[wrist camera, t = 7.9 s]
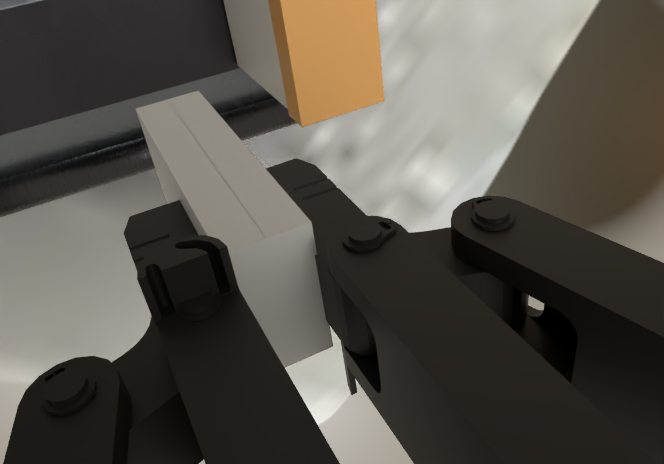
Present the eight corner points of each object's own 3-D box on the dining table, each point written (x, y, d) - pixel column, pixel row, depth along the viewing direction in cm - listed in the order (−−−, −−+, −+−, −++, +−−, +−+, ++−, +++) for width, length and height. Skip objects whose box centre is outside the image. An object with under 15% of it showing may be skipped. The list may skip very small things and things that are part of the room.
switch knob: (236, 68, 27) (302, 127, 21) (213, -35, 24) (280, 0, 19) (303, 49, 28) (384, 100, 22) (287, -52, 25) (373, -24, 20)
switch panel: (-56, 201, 28) (-62, 250, 24) (-210, -68, 21) (-249, -53, 18) (346, 80, 33) (386, 106, 30) (316, -162, 27) (363, -163, 24)
